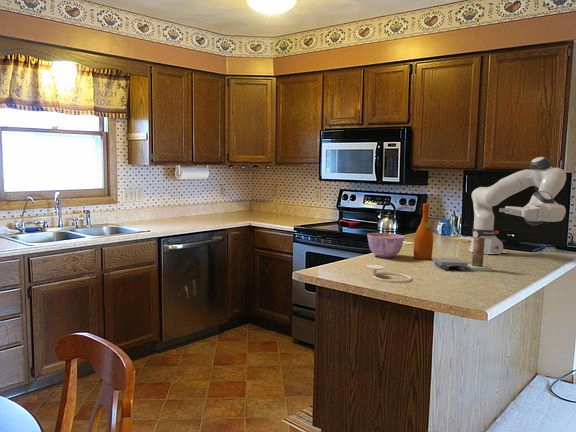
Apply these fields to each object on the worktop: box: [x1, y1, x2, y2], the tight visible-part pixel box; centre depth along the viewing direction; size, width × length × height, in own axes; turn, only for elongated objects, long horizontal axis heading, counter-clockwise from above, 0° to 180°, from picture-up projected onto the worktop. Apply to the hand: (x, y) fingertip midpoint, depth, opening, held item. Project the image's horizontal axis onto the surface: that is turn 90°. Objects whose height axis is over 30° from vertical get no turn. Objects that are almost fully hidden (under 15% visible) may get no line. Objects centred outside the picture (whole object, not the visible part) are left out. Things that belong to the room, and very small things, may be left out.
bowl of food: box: [366, 232, 405, 259], centre depth 268 cm, size 20×20×12 cm
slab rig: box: [431, 256, 469, 272], centre depth 243 cm, size 13×13×4 cm
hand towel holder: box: [366, 264, 413, 284], centre depth 216 cm, size 17×4×21 cm
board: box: [464, 263, 493, 272], centre depth 244 cm, size 10×10×2 cm
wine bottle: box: [413, 202, 434, 261], centre depth 265 cm, size 10×10×30 cm
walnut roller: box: [471, 237, 485, 267], centre depth 243 cm, size 5×5×14 cm
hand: (504, 211), depth 242 cm, fingers open, 8 cm apart
